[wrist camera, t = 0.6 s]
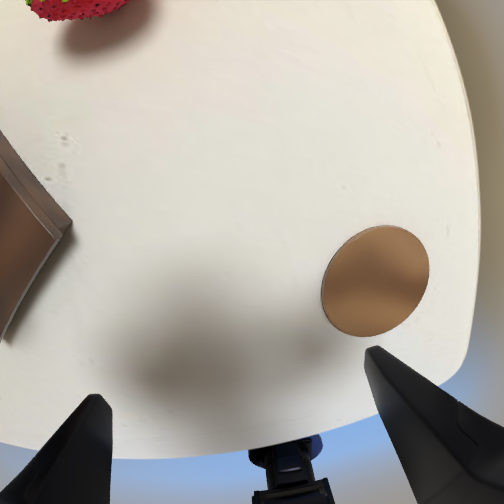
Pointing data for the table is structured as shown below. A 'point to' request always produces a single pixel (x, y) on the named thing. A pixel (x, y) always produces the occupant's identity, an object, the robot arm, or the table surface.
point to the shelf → (23, 230)
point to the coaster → (375, 281)
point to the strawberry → (73, 8)
